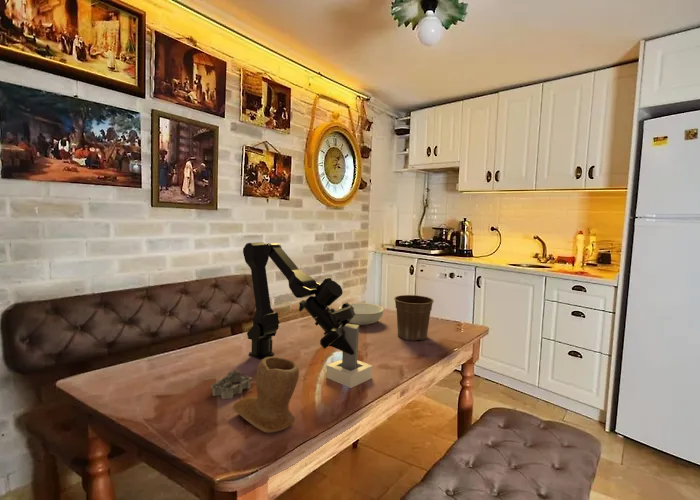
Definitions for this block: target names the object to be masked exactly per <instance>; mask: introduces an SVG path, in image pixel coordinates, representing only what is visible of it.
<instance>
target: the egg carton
mask: <svg viewBox="0 0 700 500" xmlns="http://www.w3.org/2000/svg"><path fill="white" fill-rule="evenodd" d="M252 379H254V378H253V377H251V376H248V375H245V376H244V375H243V373H242V371H239V370H237V368H236V369H233V370H232V371H229V372H228V373H227V375H225V376H223V377H222V378H221V379H219V380H217V381H216V382H214V383H213V384H211V385H209V386H210V388H211V389H212V396H213V397H215V396H221V399H222V400H227V399H232V398H234V395H236V394H239V395H240V394H242V393H243V390H246V389H247V390H249V389H251V386H252V385H251V380H252ZM238 382H239V383H238ZM233 383H236V384H233ZM237 383H238V384H237Z"/></svg>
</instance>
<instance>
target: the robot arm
mask: <svg viewBox="0 0 700 500" xmlns="http://www.w3.org/2000/svg"><path fill="white" fill-rule="evenodd" d="M242 254H243V259H244V262H245V264H246V265H247V266H248V267H249V268H250V272H251V279H252V288H253V295H254V303H255V313H254V315H253V317H252V327H251V328H250V329H249V330H248V331H247V332H246V335H247V339H248V340H251V351H249V352H248V355H250V356H252V357H254V358H257V359H261V360H262V359H264V358H266V357H272V356H273V355H275V352H273V339H272V338H273V337H275V336H276V335H277V331H278V329H279V327H280V326H279V324H280V320H279V314H278V311H277V312H274V309H272V305H271V298H270V292H269V290H270V289H269V284H268V276H267V270H266V269H267V268H266V267H267V264H268V262H269V260H271V261H272V263H274V264H275V266H276V267H277V268H278V270H279V271H280V272H281V273H282V274H283V276H284V277H285V278H286V279H287V281H288V288H289V290H290V291H291V292H292V295H293V296H294V298H296V299H302V300H301V301H299V302H298V304H299V306H298V308H299V309H298V310H299V312H302V311H303V310H306V311H307V313H308V314H309V315H310V316H311V317H312V319H313V320H314V321H315V323H314V325H315V326H319V327H320V328H321V329H322V331H324V332H323V336H322V337H321V338H320V341H319V344H320V346H321V347H322V349H323V350H325V349H326V348H328V347H331V348H335V350H339V351H341V352H343V351H344V352H346V353H348V354H350V355H353V354H354V351H353V349H352V348H351V346H350V345H349V343H348V342H347V340H346V339H345V331H344V326H345V325H346V324H350V321H351V318H353V317H354V315H355V313H354V310H353V309H354V307H352V305H349V304H350V303H348V302H345V303H343V304H342V309H339V308H338V309H337V310H335V309H334V308H332V307H331V308H330V306H331V305H332V304H333V303H334V302H336V300H338V299H339V298H340V297H341V296H342V295H343V294H344V293H343V288H342V286H341V285H340V284H339V283H337V282H336V281H334V280H333V279H332V278H331V277H326V278H325V279H324V280H322V282H321V283H318V282H317V281H316V280H315V278H313V277H312V276H311V275H310V274H308V273H307V272H304V271H303V270H301V269H300V268H299V267H298V266H297V265H296V264H295V263H294V261H293V260H292V259H291V257H290V256H288V254H287V253H286V251H284V249H283V248H282V246H281V244H280V243H278V242H270V243H269V242H268V243H265V242H261V241H259V242H258V241H257V242H248V243H246V244H245V245H244V247H243V248H242ZM269 258H270V259H269ZM307 297H308V298H307ZM303 298H306V299H305V300H304V299H303Z"/></svg>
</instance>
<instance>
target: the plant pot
mask: <svg viewBox="0 0 700 500" xmlns="http://www.w3.org/2000/svg"><path fill="white" fill-rule="evenodd" d="M393 299H394V301H395V308H396V323H397V324H396V325H397V336H398V337H400V338H401V339H403V340H406V341H411V342H412V341H415V342H416V341H418V340H419V341H424V340H426V339H427V338H428V334H429V333H428V332H429V325H430V317H431V311H432V309H433V304H434V302H435V301H434V299H433V298H431V297H428V296H425V295H424V296H423V295H418V294H417V295H416V294H415V295H414V294H404V295H403V294H401V295H397V296H394V298H393Z"/></svg>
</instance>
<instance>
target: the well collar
mask: <svg viewBox="0 0 700 500" xmlns="http://www.w3.org/2000/svg"><path fill="white" fill-rule="evenodd" d="M325 374H326V375H325V376H326V379H329V380H331V381H333V382H335V383H338V384H340V385H342V386H345V387H346V388H347V387H348V388H350V389H352V388H354V387H356V386H359V385H361V384H362V383H364V382H367V381H369V380H371V379H373V365H372V364H370V363H366V362H364V361H360V360H358V359H357V369H354V370H352V371H349V370H347V369H344V368H342V358H341V359H339V360H336V361H334V362H331V363H329V364H326V373H325Z"/></svg>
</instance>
